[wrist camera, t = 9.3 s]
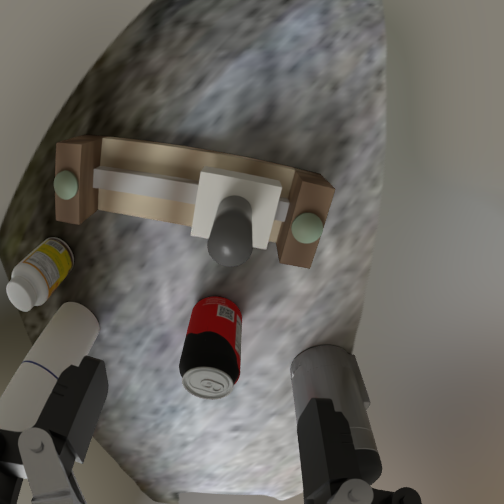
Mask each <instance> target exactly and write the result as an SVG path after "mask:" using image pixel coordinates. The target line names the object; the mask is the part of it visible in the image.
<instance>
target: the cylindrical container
mask: <svg viewBox="0 0 504 504" xmlns="http://www.w3.org/2000/svg"><path fill="white" fill-rule="evenodd" d="M98 333H99V323H98V321H97V319H96V317H95V316H94V314H93V313H92V312H91V311H90V310H89V309H87V308H86V307H85V306H83V305H81V304H79V303H76V302H66V303H64V304H63V305H62V306H61V307H60V308H59V310H58V311H57V312H56V314H55V315H54V316H53V318H52V319H51V321H50V322H49V323H48V325H47V326H46V328H45V329H44V330H43V332H42V333H41V335H40V336H39V338H38V339H37V341H36V342H35V343H34V345H33V347H32V348H31V349H30V351H29V352H28V354H27V355H26V357H25V359H24V360H23V362H22V364H21V365H20V367H19V368H18V370H17V371H16V373H15V374H14V376H13V378H12V379H11V381H10V383H9V384H8V386H7V388H6V389H5V391H4V393H3V394H2V396H1V398H0V429H3V430H9V431H15V432H23V431H25V430H26V429H28V428H32V427H33V426H34V425H35V423H36V422H37V420H38V418H39V416H40V413H41V411H42V409H43V407H44V405H45V403H46V401H47V399H48V397H49V395H50V393H52V390H53V388H54V386H55V385H56V382H57V380H58V378H59V376H60V374H61V373H62V372H63V371H64V370H65V369H66V368H68V367H69V366H70V365H74V366H77V367H78V366H79V364H80V362H81V361H82V359H83V357H84V356H86V355H87V354H88V352H89V350H90V349H91V347H92V345H93V343H94V341H95V339H96V337H97V335H98Z"/></svg>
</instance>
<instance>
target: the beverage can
mask: <svg viewBox="0 0 504 504" xmlns="http://www.w3.org/2000/svg"><path fill="white" fill-rule="evenodd" d="M241 332H242V315H241V312H240V310H239V308H238V307H237V305H236V304H234V303H233V302H232V301H230V300H228V299H226V298H223V297H217V296H213V297H207V298H204V299H202V300H200V301H199V302H198V303H197V304H196V305H195V306H194V308H193V310H192V314H191V318H190V322H189V326H188V330H187V334H186V338H185V342H184V347H183V351H182V355H181V359H180V364H179V370H180V374H181V376H182V384H183V386H184V388H185V389H186V390H187V391H188V392H189V393H191V394H192V395H194V396H196V397H199V398H203V399H220V398H223V397H226V396H227V395H229V394H230V393H231V392H232V390H233V386H234V384H235V383H236V382H237V381H238V379H239V376H240V361H241Z"/></svg>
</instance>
